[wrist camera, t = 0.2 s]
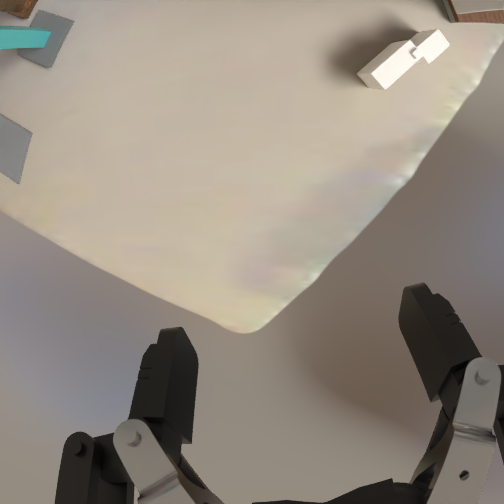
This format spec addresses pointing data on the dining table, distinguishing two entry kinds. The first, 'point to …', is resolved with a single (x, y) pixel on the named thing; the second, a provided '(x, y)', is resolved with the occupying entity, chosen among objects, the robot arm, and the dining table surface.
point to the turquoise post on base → (37, 37)
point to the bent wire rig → (18, 7)
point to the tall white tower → (475, 11)
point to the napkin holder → (402, 58)
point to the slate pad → (13, 148)
